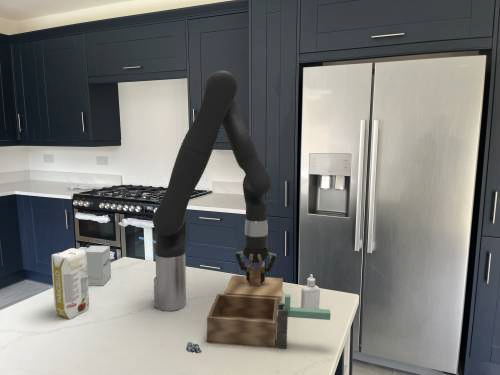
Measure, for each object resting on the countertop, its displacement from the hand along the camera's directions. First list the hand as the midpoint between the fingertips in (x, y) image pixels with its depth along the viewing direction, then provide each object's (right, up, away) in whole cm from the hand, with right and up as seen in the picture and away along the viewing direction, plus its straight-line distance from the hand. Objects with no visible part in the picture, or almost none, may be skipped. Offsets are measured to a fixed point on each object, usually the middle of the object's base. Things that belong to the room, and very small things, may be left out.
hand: (255, 281), depth 122 cm
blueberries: (-16, -10, -28) cm, 34 cm away
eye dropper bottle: (+17, -7, -8) cm, 20 cm away
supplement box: (-57, -3, +11) cm, 59 cm away
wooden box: (-2, -9, -20) cm, 22 cm away
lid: (0, -2, -1) cm, 2 cm away
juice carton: (-56, -7, -11) cm, 57 cm away
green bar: (+13, -2, -28) cm, 30 cm away
